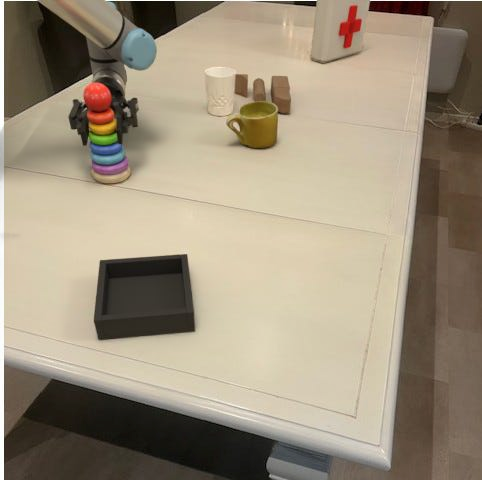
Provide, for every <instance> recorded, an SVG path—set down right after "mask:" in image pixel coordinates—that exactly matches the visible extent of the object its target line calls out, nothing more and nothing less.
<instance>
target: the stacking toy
mask: <svg viewBox="0 0 482 480" xmlns="http://www.w3.org/2000/svg"><path fill="white" fill-rule="evenodd" d="M82 96H83V102H85V103H86V105H87V106H88V107H89V108H90V110H89V111H88V112H87V117H88V119H89V120H90V122H89V131H90V132H89V137H88V140H90V141H89V148H90V150H89V157H90V159H91V162H90V164H91V171H90V172H91V173H90V174H91V176H92V178H93V179H94V180H95V181H97V182H99V183H102V184H116V183H120V182H123V181H125V180H127V179H128V178H129V176H130V175H131V171H132V170H131V166H130V165H129V163H130V161H129V158H128V156H126V150H125V148H124V147H123V145H124V143H123V142H122V144H118V139H117V133H116V127H117V119H115V118H114V112H113V110H112V109H111V108H109V106H110V104H111V100H112V97H111V93H110V91H109V89H108V88H107V87H106V86H105V85H103V84H101V83H92V82H91V83H89V84H88V85H87V86H86V87H84V89H83V95H82Z"/></svg>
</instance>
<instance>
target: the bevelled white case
mask: <svg viewBox="0 0 482 480" xmlns="http://www.w3.org/2000/svg"><path fill="white" fill-rule="evenodd" d="M370 3H371V0H316V4H315V14H314V20H313V21H314V22H313V32H312V38H311V39H312V40H311V41H312V42H311V49H310V57H311V59H312V61H314V62H317V63H319V64H325V63H329V62H333V61H335V60H336V61H337V60H340V59H342V58H346V57H349V56H353V55H356V54H359V53H360V52H361V51H362V49H363V44H364V39H365V33H366V26H367V20H368V15H369V10H370Z"/></svg>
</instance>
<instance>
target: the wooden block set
mask: <svg viewBox="0 0 482 480" xmlns="http://www.w3.org/2000/svg"><path fill="white" fill-rule="evenodd" d="M248 85H249V74H248V73H236V78H235V95H238V96H241V97H244V98H248V87H249V86H248ZM265 86H266V85H265V81H264V79H263V78H260V77H259V78H255V79H254V80H253V83H252V88H253V91H252V92H253V93H252V94H253V102H255V101H266V100H267V99H266V97H267V96H266V87H265ZM290 90H291V87H290V82H289V78H288V76H287V75H272V76H271V81H270V97H271V103H274V104H275V105H276V106H277V108H278V113H281V114H289V113H290V112H291V103H292V97H291V93H290Z"/></svg>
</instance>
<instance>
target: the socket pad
mask: <svg viewBox="0 0 482 480" xmlns="http://www.w3.org/2000/svg"><path fill="white" fill-rule="evenodd" d="M97 275H98V276H97V285H96V294H95V305H94V313H93V325H94V328H95V332H96V336H97V339H98V341H103V340H116V339H126V338H127V339H128V338H137V337H147V336H158V335H159V336H160V335H170V334H181V333H192V332H196V324H195V323H196V322H195V310H194V301H193V293H192V284H191V276H190V275H191V274H190V265H189V258H188V253H182V254H168V255H154V256H140V257H139V256H138V257H126V258H125V257H124V258H109V259H100V260H99V264H98V274H97Z"/></svg>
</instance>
